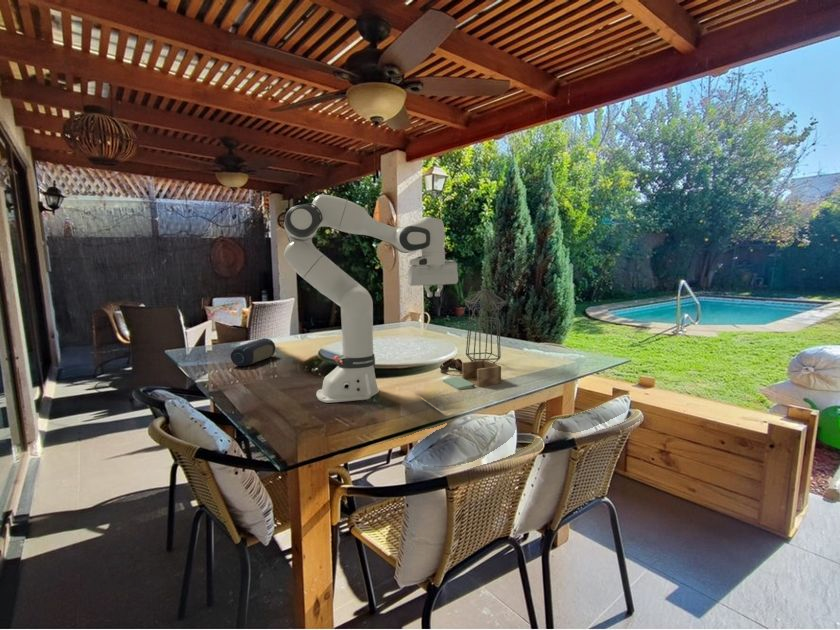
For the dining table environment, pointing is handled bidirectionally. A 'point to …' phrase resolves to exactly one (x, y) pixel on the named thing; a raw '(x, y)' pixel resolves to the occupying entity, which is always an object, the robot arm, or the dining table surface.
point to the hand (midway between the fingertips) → (433, 296)
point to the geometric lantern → (489, 294)
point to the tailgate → (459, 383)
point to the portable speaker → (253, 352)
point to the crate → (481, 373)
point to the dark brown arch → (451, 365)
